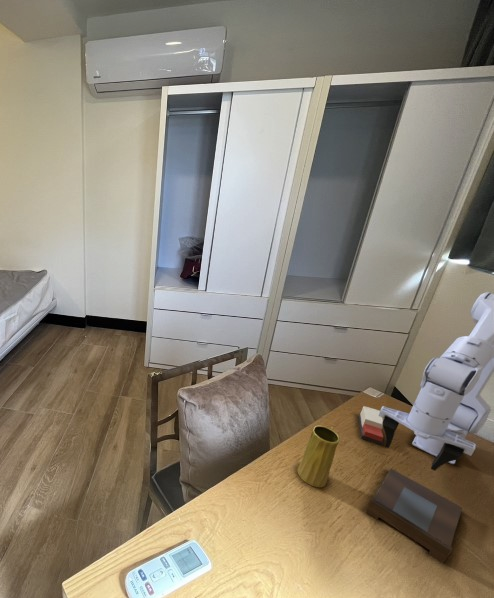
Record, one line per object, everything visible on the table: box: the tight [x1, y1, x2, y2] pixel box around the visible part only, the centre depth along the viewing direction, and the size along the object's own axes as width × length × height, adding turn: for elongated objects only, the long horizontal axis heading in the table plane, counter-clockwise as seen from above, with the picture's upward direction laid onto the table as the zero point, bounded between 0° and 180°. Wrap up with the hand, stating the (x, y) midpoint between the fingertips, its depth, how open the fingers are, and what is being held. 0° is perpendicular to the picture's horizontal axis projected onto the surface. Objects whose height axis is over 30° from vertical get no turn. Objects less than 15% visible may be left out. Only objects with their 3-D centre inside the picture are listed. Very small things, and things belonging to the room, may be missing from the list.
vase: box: [296, 425, 341, 488], centre depth 74 cm, size 6×6×14 cm
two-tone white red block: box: [358, 405, 384, 446], centre depth 89 cm, size 10×4×4 cm, turn 145°
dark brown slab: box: [365, 468, 463, 564], centre depth 67 cm, size 16×12×4 cm
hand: (409, 455), depth 70 cm, fingers open, 7 cm apart
